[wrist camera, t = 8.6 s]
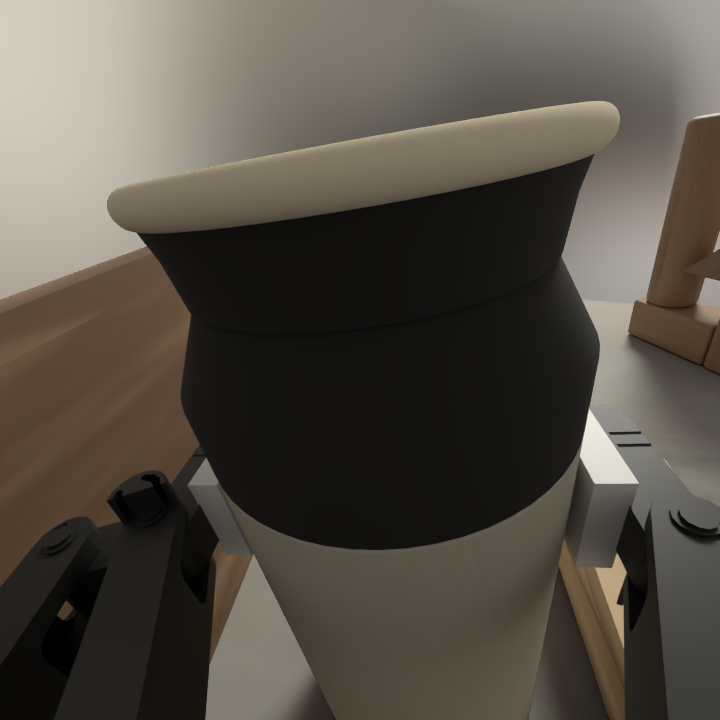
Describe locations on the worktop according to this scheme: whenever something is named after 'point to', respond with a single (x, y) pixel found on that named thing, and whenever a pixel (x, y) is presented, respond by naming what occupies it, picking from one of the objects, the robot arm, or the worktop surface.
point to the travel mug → (394, 391)
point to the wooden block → (687, 255)
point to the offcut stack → (600, 624)
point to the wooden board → (94, 404)
